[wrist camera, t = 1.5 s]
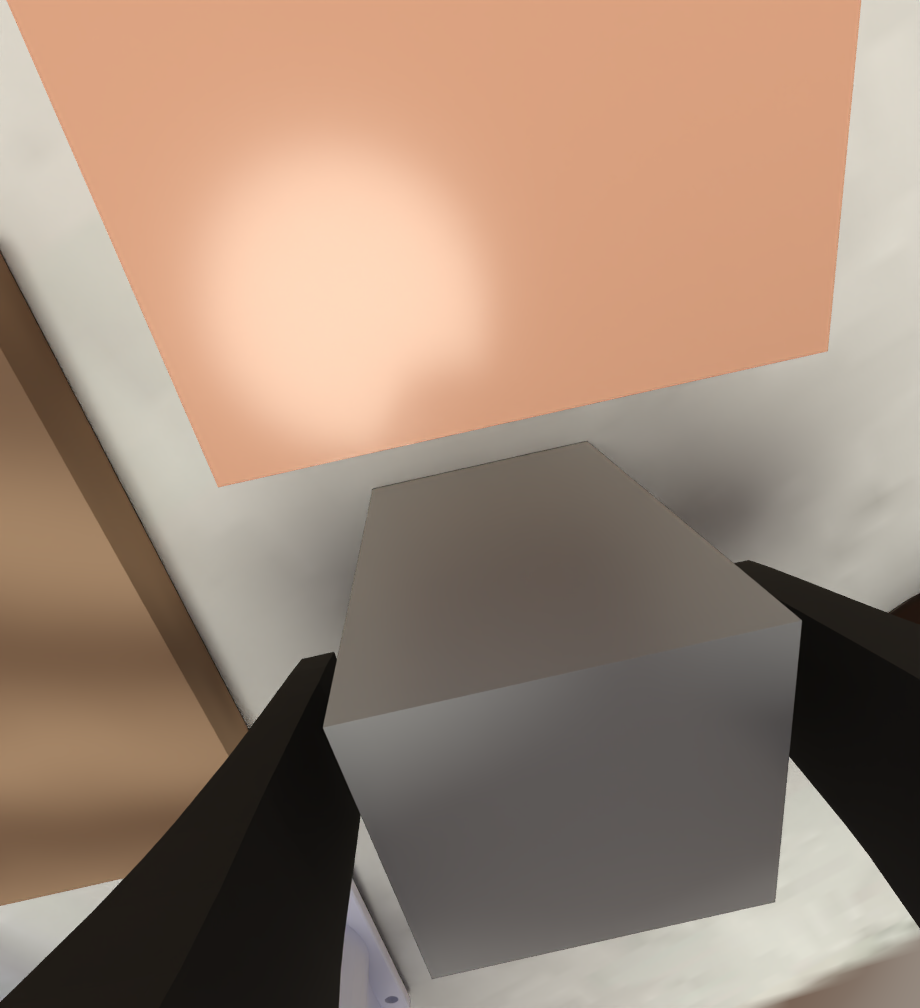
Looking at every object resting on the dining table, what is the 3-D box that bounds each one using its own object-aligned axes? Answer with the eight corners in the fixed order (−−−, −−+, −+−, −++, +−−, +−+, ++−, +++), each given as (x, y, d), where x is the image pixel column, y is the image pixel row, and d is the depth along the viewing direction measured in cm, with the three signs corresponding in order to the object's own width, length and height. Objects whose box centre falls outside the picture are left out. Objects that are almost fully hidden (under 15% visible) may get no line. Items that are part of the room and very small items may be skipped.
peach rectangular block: (574, 316, 11) (827, 351, 4) (337, 370, 11) (218, 488, 4) (542, 0, 8) (952, -936, 2) (245, 66, 8) (-281, -659, 2)
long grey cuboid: (605, 617, 14) (774, 902, 7) (422, 659, 14) (432, 979, 7) (587, 440, 12) (801, 620, 5) (372, 489, 12) (323, 727, 5)
